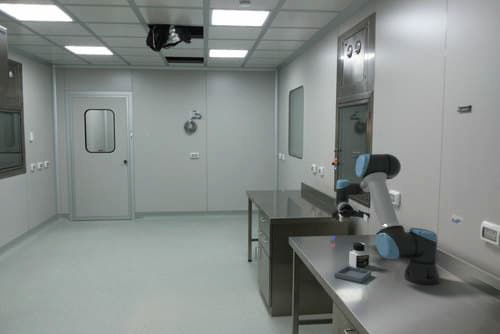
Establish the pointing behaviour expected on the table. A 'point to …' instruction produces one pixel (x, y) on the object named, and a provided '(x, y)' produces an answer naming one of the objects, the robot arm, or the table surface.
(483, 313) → the table surface
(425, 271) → the robot arm
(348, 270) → the tray
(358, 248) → the medicine bottle
